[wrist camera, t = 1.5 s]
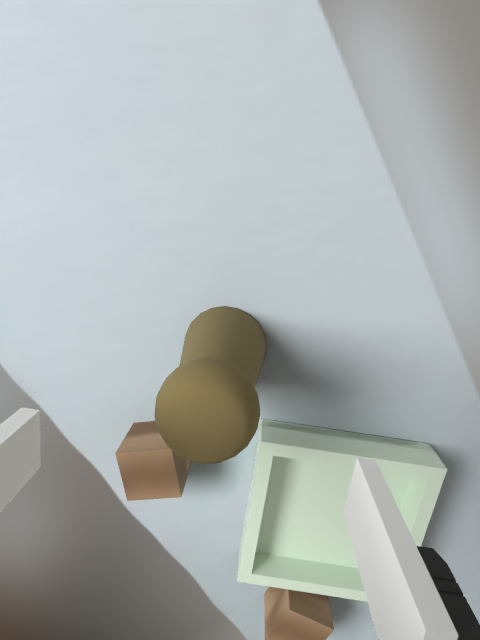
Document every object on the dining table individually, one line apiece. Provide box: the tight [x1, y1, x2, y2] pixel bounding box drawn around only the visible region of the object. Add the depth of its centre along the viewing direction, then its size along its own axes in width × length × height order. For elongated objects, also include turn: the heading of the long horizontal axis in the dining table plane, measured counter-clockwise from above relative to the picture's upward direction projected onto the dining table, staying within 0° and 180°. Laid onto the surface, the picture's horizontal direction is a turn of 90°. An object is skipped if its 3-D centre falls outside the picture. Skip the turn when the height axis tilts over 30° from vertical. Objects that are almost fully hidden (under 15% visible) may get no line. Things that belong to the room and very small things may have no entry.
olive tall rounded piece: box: [155, 306, 266, 464], centre depth 22 cm, size 6×6×11 cm
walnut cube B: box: [265, 587, 334, 640], centre depth 32 cm, size 4×4×4 cm
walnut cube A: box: [116, 421, 191, 501], centre depth 28 cm, size 4×4×4 cm
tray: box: [237, 419, 447, 602], centre depth 29 cm, size 13×13×3 cm
